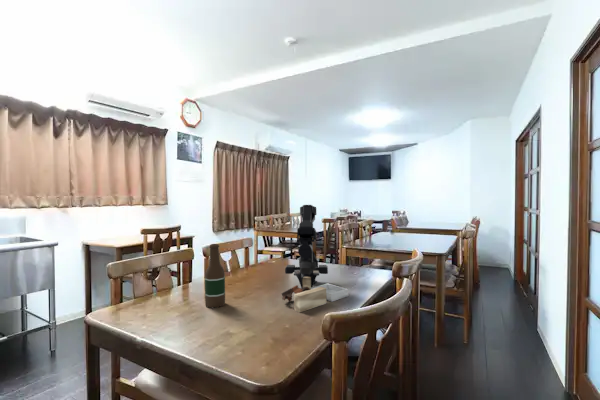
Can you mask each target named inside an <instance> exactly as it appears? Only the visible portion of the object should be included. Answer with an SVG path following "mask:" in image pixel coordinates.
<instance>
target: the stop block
mask: <svg viewBox="0 0 600 400" xmlns="http://www.w3.org/2000/svg"><path fill="white" fill-rule="evenodd" d="M293 304H294V305H293V306H294V309H293V310H294V311H295V312H297V313H302V312H306V311H308V310H311V309H314V308H318V307H320V306H323V305H327V300H326V288H324V287H318V288H315V289H311V290H308V291H304V292H300V293H297V294H295V293H294V294H293Z"/></svg>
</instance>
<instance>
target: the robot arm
mask: <svg viewBox="0 0 600 400" xmlns="http://www.w3.org/2000/svg"><path fill="white" fill-rule="evenodd" d="M299 215H300V216H301V222H300V223H299V224H298V225H299V226H298V227H297V228H296V229H297V231H296V232H297V233H296V242H297V243H299V246H298V249H297V252H298V255H299V259H298V260H299V261H298V265H299V266H296V265H295V264H287V265H286V266H285V269H284V271H285V272H284V273H285V275H286V274H287V275H292V274H293V276H296V278H297V280H298V281H299V285H300V288H303V286H302V278H303V277H311V288H312V287H314V284H316V283H318V280H316V278H317V277H318V276H320V275H328V273H329V271H328V270H329V267H328V265H327V264H319V260H318V259H317V258H316V254H315V252H314V250H313V249H314V246H313V245H314V242H315V241H316V240H317V230H316V228H315V227H314V222H315V220H316V216H317V206H313V204H303V205H302V206H300V207H299Z"/></svg>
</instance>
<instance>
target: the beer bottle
mask: <svg viewBox="0 0 600 400" xmlns="http://www.w3.org/2000/svg"><path fill="white" fill-rule="evenodd" d="M219 247H220V245H219V244H218V243H211V244H209V249H210V250H209V264H208V266H207V268H206V269H205V271H204V272H205V273H204V303H205V307H207V306H208V307H207V308H209V307H218V308H220V307H219V306H221V307H223V306H224V305H225V303H226V276H225V274H226V273H225V270H224V267H223V266H222V265H221V261H220V260H221V259H220V251H219V250H220V249H219Z"/></svg>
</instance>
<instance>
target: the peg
mask: <svg viewBox="0 0 600 400" xmlns="http://www.w3.org/2000/svg"><path fill="white" fill-rule="evenodd" d="M302 286H303V287H309V289H310V290H311V277H303V278H302ZM305 291H306V290H305Z"/></svg>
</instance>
